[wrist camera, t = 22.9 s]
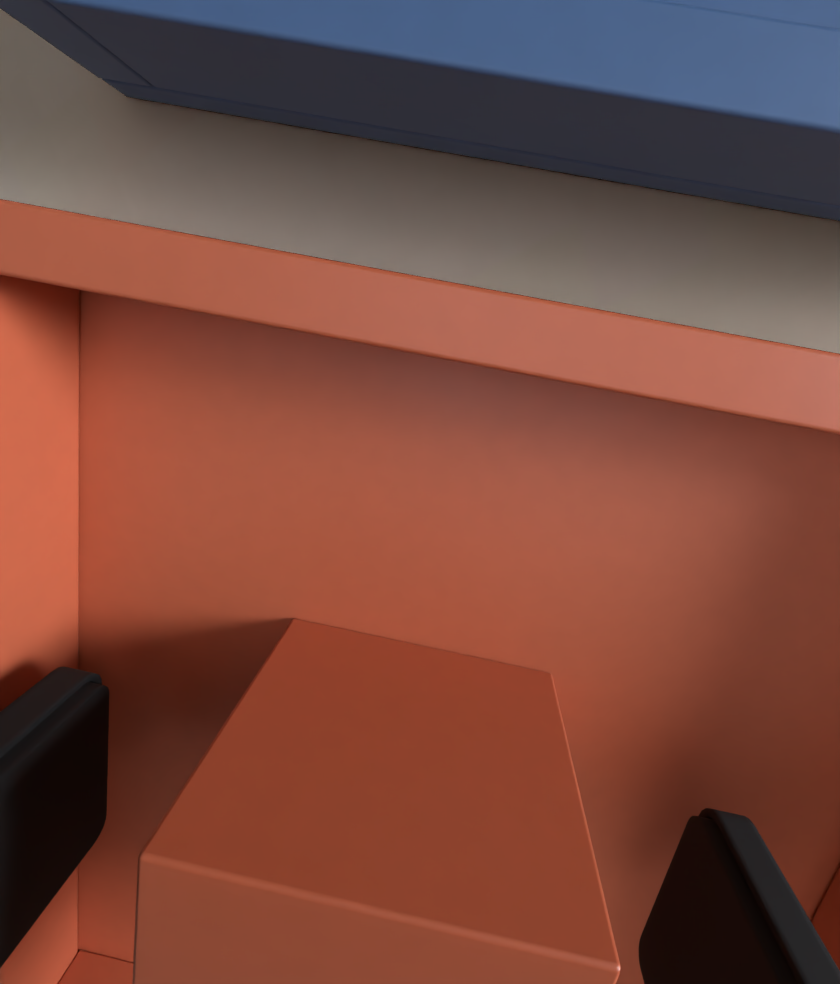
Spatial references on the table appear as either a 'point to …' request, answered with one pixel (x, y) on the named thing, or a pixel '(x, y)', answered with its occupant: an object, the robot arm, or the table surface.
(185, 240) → the block tray
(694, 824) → the robot arm
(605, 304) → the table surface
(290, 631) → the block
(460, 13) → the can tray
